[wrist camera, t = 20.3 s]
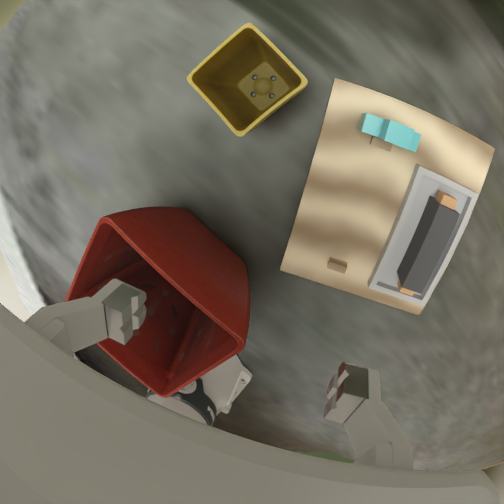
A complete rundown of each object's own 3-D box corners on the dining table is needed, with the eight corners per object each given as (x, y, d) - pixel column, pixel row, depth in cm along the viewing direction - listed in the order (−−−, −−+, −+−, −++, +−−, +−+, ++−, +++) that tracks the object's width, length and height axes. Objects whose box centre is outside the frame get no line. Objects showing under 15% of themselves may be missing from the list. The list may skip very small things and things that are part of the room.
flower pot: (268, 39, 30) (248, 19, 22) (315, 90, 31) (310, 82, 24) (216, 84, 34) (184, 78, 26) (260, 133, 36) (238, 139, 28)
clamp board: (417, 310, 40) (421, 321, 38) (281, 265, 43) (277, 275, 40) (490, 147, 27) (500, 150, 25) (335, 79, 30) (335, 76, 28)
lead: (411, 285, 37) (416, 301, 34) (392, 278, 37) (397, 295, 34) (452, 195, 31) (464, 204, 27) (433, 186, 31) (443, 195, 27)
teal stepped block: (405, 147, 30) (425, 157, 23) (357, 129, 31) (365, 133, 24) (409, 131, 29) (432, 137, 22) (362, 113, 30) (371, 112, 23)
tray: (421, 299, 38) (423, 306, 37) (367, 281, 39) (368, 288, 38) (473, 191, 30) (478, 194, 28) (415, 163, 31) (419, 165, 29)
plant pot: (180, 173, 41) (100, 212, 26) (280, 265, 43) (249, 347, 28) (125, 255, 50) (61, 309, 35) (206, 328, 52) (163, 400, 37)
